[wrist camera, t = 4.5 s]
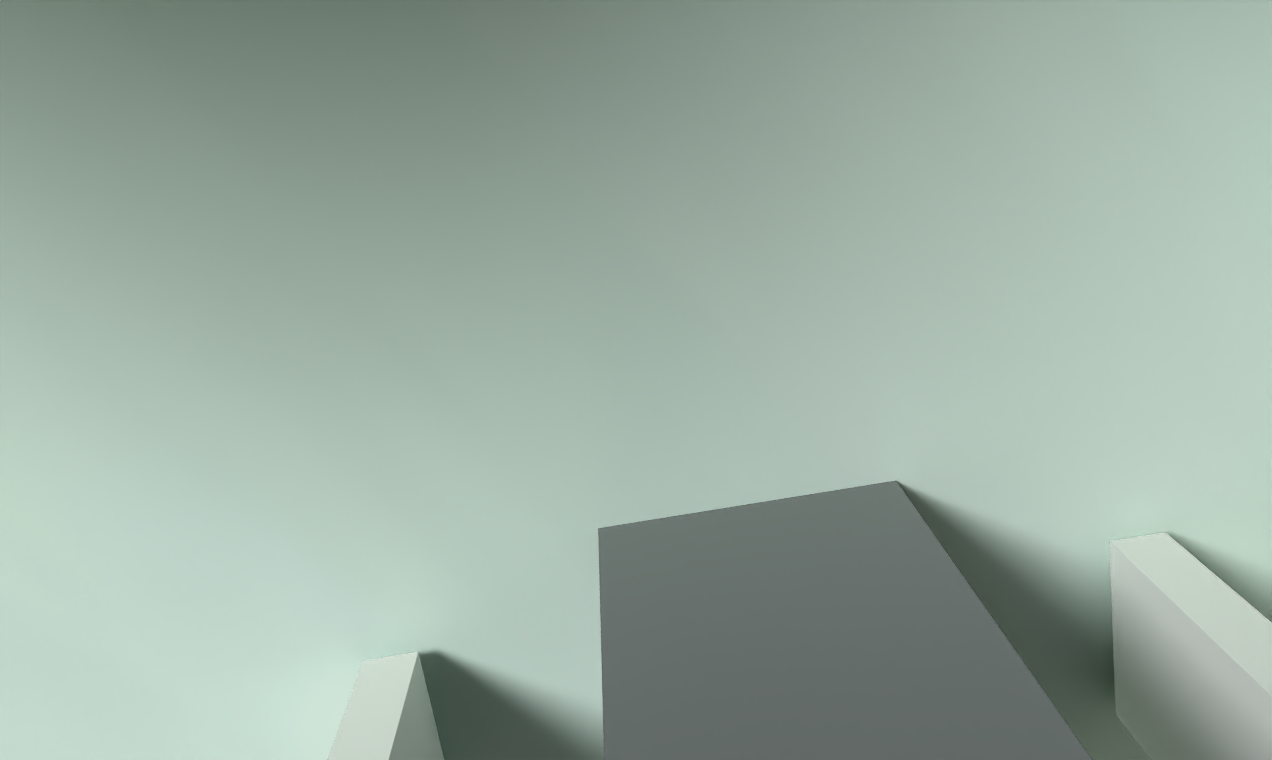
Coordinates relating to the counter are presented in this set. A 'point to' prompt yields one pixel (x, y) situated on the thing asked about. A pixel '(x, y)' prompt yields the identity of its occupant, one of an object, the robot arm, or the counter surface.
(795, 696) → the gray box with label
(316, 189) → the counter surface
